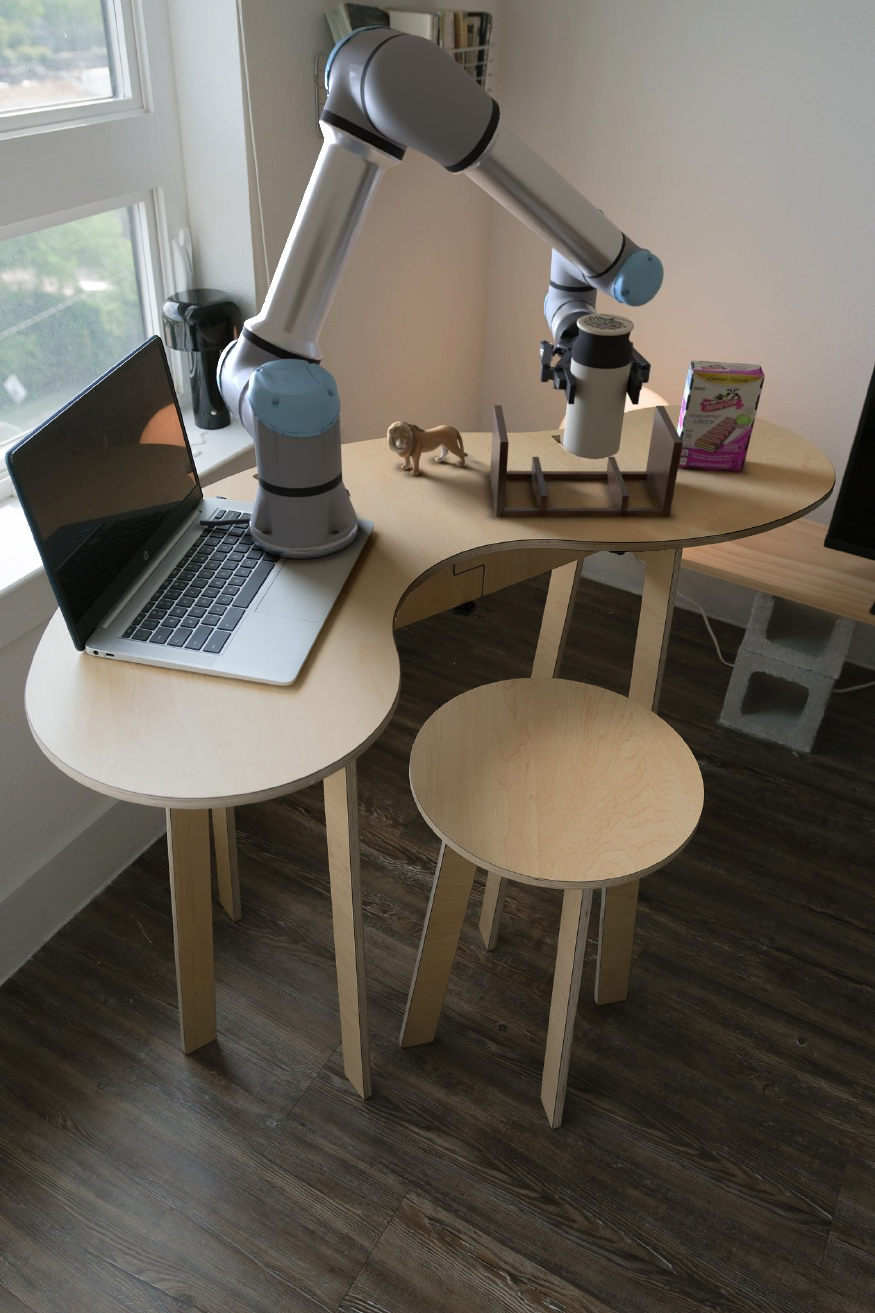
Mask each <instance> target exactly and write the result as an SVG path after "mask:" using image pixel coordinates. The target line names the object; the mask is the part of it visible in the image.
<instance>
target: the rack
mask: <svg viewBox="0 0 875 1313" xmlns="http://www.w3.org/2000/svg"><path fill="white" fill-rule="evenodd" d="M492 415H493V416H492V430H491V431H492V433H491V453H490V469H489V470H490V472H489V473H490V474H489V478H490V485H491V491H492V492H491V493H492V499H493V504H494V505H493V506H494V512H495V517H498V518H499V517H501V518H505V517H506V518H510V517H511V518H512V517H513V518H518V517H519V518H521V517H522V518H525V517H526V518H529V517H530V518H532V517H533V518H538V517H539V518H541V517H542V518H547V517H549V518H562V517H563V518H564V517H565V518H570V517H571V518H573V517H574V518H575V517H576V518H582V517H583V518H584V517H585V518H590V517H591V518H593V517H595V518H607V517H608V518H620V517H622V518H628V517H629V518H631V517H633V518H635V517H636V518H640V517H641V518H644V517H645V518H649V517H650V518H652V517H653V518H669V517H671V511H672V506H673V499H674V495H675V488H676V482H677V477H678V471H679V467H678V466H679V460H680V454H681V449H682V443H683V442H682V440H681V439H680V437H679V435H678V433H677V428H676V427H675V425H674V423H673V421H672V419H671V417H670V415H669V413H668V411H667V409H666V407H665V406H664V405H655V411H654V417H653V424H652V430H651V436H650V443H649V450H648V456H647V462H646V469H645V470H640V471H639V470H638V471H637V470H635V471H634V470H626V471H625V470H623V471H622V470H620V467H619V465H618V462H617V460H616V457H615V456H610V457H607V463H606V464H607V465H606V470H543V469H542V465H541V461H540V457H539V456H532V459H531V469H530V470H508V459H509V443H510V442H509V436H508V432H507V427H506V421H505V416H504V411H503V406H502V404H494V405H493V412H492ZM507 480H531V483H532V488H533V493H534V497H535V501H536V507H506V492H507V491H506V489H507ZM545 480H579V481H580V480H586V481H587V480H595V481H596V480H597V481H598V480H600V481H601V480H606V481H607V484H608V487H609V489H610V493H611V495H612V498H613V502H614V504H615V507H548V501H549V495H548V494H549V493H548V489H547V486H546V481H545ZM626 480H627V481H629V480H630V481H631V480H634V481H635V480H636V481H641V480H642V481H645V480H646V483H647V485H648V487H649V490H650V492H651V494H652V497H653V499H654V501H655V504H656V506H657V507H629V501H630V495H629V494H630V493H629V491H628V488H627V486H626V484H625V483H626V482H625V481H626Z"/></svg>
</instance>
